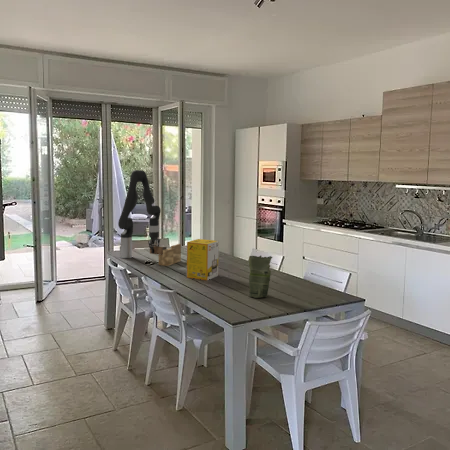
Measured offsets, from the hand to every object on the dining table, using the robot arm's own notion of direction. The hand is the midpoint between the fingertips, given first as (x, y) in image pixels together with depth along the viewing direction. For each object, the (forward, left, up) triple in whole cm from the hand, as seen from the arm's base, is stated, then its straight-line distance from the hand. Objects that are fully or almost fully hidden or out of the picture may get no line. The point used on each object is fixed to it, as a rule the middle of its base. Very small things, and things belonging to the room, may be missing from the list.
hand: (154, 252), depth 363 cm
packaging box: (+54, -22, -9) cm, 59 cm away
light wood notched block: (+11, +6, -8) cm, 15 cm away
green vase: (+106, -50, -9) cm, 117 cm away
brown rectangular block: (+3, 0, -1) cm, 3 cm away
